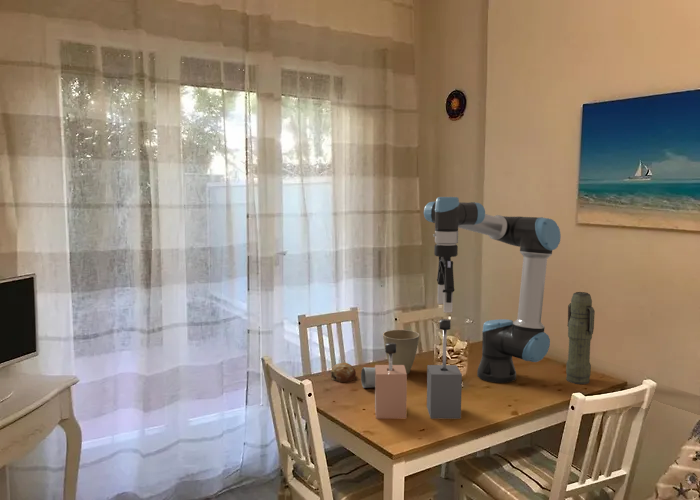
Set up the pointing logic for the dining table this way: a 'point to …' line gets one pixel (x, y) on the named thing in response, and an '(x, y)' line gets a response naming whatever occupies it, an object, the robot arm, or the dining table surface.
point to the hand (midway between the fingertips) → (444, 307)
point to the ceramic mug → (368, 377)
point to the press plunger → (390, 352)
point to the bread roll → (343, 372)
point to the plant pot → (402, 347)
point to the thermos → (579, 338)
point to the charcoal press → (444, 392)
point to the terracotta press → (390, 391)
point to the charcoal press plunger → (444, 338)
